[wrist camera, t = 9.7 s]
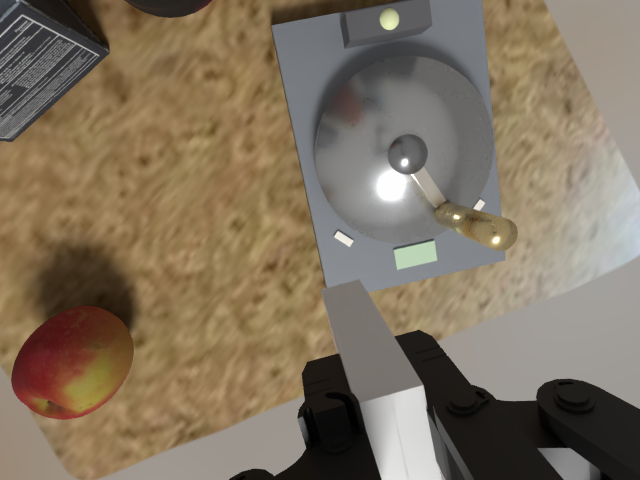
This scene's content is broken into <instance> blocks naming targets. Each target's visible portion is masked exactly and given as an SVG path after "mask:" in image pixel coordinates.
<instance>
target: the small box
mask: <svg viewBox="0 0 640 480" xmlns="http://www.w3.org/2000/svg"><path fill="white" fill-rule="evenodd" d="M108 54H109V49H108V46H106V45H105V43H104V42H103V41H102V40H100V39H99V38H98V37H97V36H96V34H95V33H94V32H93V31H92V30H91V29H90V28H89V26H87V25H86V24H85V22H84V21H83V20H82V19H81V18H80V17H79V16H78V15H77V13H76V11H74V10H73V9H72V8H71V6H70V5H69V4H68V2H67V0H0V141H7V142H12V141H14V140H15V139H16V138H17V137H18V136H19V135H20V134H21V133H22V132H23V131H25V130H26V129H27V128H28V127H29V126H30V125H31V124H32V123H33V122H35V121H36V120H37V119H38V118H39V117H40V116H41V115H43V114H44V113H45V112H46V111H47V110H48V109H49V108H50V107H51V106H52V105H54V104H55V103H56V102H57V101H58V100H59V99H60V98H61V97H62V96H63V95H64V94H66V93H67V92H68V91H69V90H70V89H71V88H72V87H73V86H74V85H75V84H77V83H78V82H79V81H80V80H81V79H82V78H83V77H84V76H85V75H87V74H88V73H89V72H90V71H91V70H92V69H93V68H94V67H95V66H96V65H97V64H98V63H99V62H100V61H102V60H103V59H104V58H105V57H106V56H107V55H108Z"/></svg>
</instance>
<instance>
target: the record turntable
mask: <svg viewBox="0 0 640 480" xmlns="http://www.w3.org/2000/svg"><path fill="white" fill-rule="evenodd" d="M272 35H273V40H274V44H275V49H276V54H277V59H278V63H279V68H280V73H281V77H282V82H283V87H284V92H285V96H286V101H287V106H288V111H289V115H290V120H291V125H292V129H293V134H294V139H295V144H296V148H297V153H298V158H299V162H300V167H301V172H302V177H303V181H304V186H305V191H306V196H307V200H308V205H309V210H310V214H311V219H312V224H313V229H314V233H315V238H316V243H317V247H318V252H319V257H320V262H321V266H322V271H323V276H324V281H325V285H326V288H328V287H332V286H336V285H339V284H343V283H347V282H351V281H354V280H358V279H360V281H361V283H362V284H363V286H364V288H365V289H366V291H367V293H368V292H372V291H377V290H381V289H385V288H389V287H394V286H398V285H402V284H406V283H411V282H415V281H419V280H423V279H428V278H432V277H436V276H441V275H445V274H449V273H453V272H458V271H462V270H466V269H470V268H475V267H479V266H483V265H487V264H492V263H496V262H500V261H505V250H504V251H496V250H493V249H491V248H489V247H487V246H485V245H482V244H480V243H478V242H476V241H474V240H472V239H469V238H467V237H465V236H463V235H461V234H459V233H456V232H454V231H452V230H450V229H448V230H446V231H445V232H443V233H441V234H439V235H437V236H435V237H432V238H429V239H426V240H424V241H419V242H414V243H404V244H397V243H387V242H382V241H378V240H375V239H372V238H369V237H367V236H365V235H363V234H361V233H359V232H357V231H356V230H354V229H353V228H351V227H350V226H349V225H347V224H346V223H345V222H344V221H343V220H342V219H341V218H340V217H339V216H338V215H337V214H336V212H335V211H334V210H333V209H332V208H331V206H330V205H329V203H328V202H327V200H326V199H325V196H324V194H323V192H322V190H321V188H320V185H319V182H318V179H317V174H316V169H315V159H314V149H315V139H316V134H317V129H318V126H319V123H320V120H321V118H322V115H323V113H324V111H325V109H326V107H327V105H328V104H329V102H330V101H331V99H332V98H333V96H334V95H335V94H336V93H337V92H338V90H339V89H340V88H341V87H342V86H343V85H344V84H345V83H346V82H347V81H348V80H350V79H351V78H352V77H353V76H354V75H355V74H357V73H358V72H360V71H361V70H363V69H364V68H366V67H368V66H370V65H372V64H374V63H376V62H379V61H382V60H385V59H388V58H394V57H399V56H418V57H426V58H430V59H433V60H437V61H439V62H442V63H444V64H446V65H448V66H450V67H451V68H453V69H455V70H456V71H458V72H459V73H460V74H461V75H463V76H464V77H465V78H466V79H467V80H468V81H469V82H470V83H471V84H472V85H473V86H474V87H475V89H476V90H477V92H478V93H479V95H480V96H481V98H482V100H483V102H484V104H485V106H486V108H487V110H488V113H489V116H490V119H491V124H492V129H493V137H494V128H493V117H492V106H491V95H490V84H489V73H488V62H487V51H486V40H485V29H484V18H483V7H482V0H402V1H397V2H392V3H387V4H381V5H376V6H371V7H366V8H360V9H355V10H350V11H345V12H339V13H334V14H329V15H324V16H318V17H313V18H308V19H302V20H297V21H292V22H287V23H281V24H276V25H272ZM472 209H476V210H479V211H482V212H486V213H489V214H492V215H496V216H499V217H501V206H500V194H499V183H498V172H497V161H496V150H495V139H494V155H493V161H492V167H491V171H490V174H489V178H488V180H487V183H486V185H485V187H484V190H483V192H482V193H481V195H480V197H479V199H478V200H477V202H476V203H475V204H474V206H473V207H472Z"/></svg>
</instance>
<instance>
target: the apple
mask: <svg viewBox="0 0 640 480" xmlns="http://www.w3.org/2000/svg"><path fill="white" fill-rule="evenodd" d="M133 354H134V348H133V341H132V338H131V335H130V333H129V331H128V329H127V328H126V326H125V324H124V323H123V322H122V321H121V320H120V319H119V318H118V317H116V316H115V315H114V314H112V313H110V312H109V311H107V310H104V309H102V308H99V307H95V306H78V307H74V308H71V309H68V310H65V311H63V312H61V313H59V314H57V315H55V316H54V317H52V318H50V319H49V320H47V321H46V322H45V323H43V324H42V325H41V326H40V327H39V328H37V329H36V330H35V331H34V332H33V333H32V334H31V336H30V337H29V338H28V339H27V341H26V342H25V343H24V345H23V346H22V348H21V350H20V351H19V353H18V356H17V358H16V360H15V363H14V366H13V371H12V378H11V382H12V387H13V390H14V393H15V394H16V396H17V397H18V399H19V400H20V401H21V402H23V403H24V404H25V405H27V406H28V407H29V408H30V409H31V410H32V411H34V412H36V413H38V414H40V415H42V416H45V417H48V418H54V419H72V418H78V417H81V416H84V415H87V414H89V413H91V412H93V411H94V410H96V409H98V408H99V407H101V406H102V405H103V404H104V403H106V402H107V401H108V400H109V399H110V398H111V397H112V396H113V395H114V394H115V393H116V392H117V390H118V389H119V388H120V386H121V385H122V384H123V382H124V380H125V379H126V377H127V375H128V373H129V370H130V368H131V364H132V360H133Z"/></svg>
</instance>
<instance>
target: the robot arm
mask: <svg viewBox="0 0 640 480" xmlns="http://www.w3.org/2000/svg"><path fill="white" fill-rule="evenodd" d="M321 293H322V297H323V301H324V305H325V308H326V312H327V316H328V320H329V324H330V328H331V332H332V336H333V340H334V343H335V347H336V351H337V354H335V355H331V356H327V357H324V358H320V359H317V360H313V361H309V362H307V364H306V366H305V368H304V370H303V372H302V379H303V386H304V396H305V402H304V403H303V404H302V406H301V407H300V409H299V412H298V422H299V425H300V428H301V432H302V435H303V438H304V441H305V445H306V450H305V451H304V453H303V455H302V456H301V457H300V458H299V459H298V461H296V462H295V463H294V464H293V465H292V466H290V467H289V468H287V469H286V470H284V471H282V472H281V473H279V474H277V475H276V476H273V475H272V474H271V473H269V472H268V471H266V470H262V469H251V470H247V471H243V472H241V473H239V474H237V475H235V476H234V477H232V478H230V479H229V480H442V479H441V474H440V469H441V471H442V473H443V475H444V477H445V479H446V480H640V409H638V408H636V407H635V406H633V405H631V404H629V403H627V402H625V401H623V400H621V399H620V398H618V397H616V396H614V395H612V394H610V393H608V392H606V391H605V390H603V389H601V388H599V387H597V386H594V385H592V384H589V383H587V382H584V381H579V380H573V379H556V380H553V381H550V382H546V383H544V384H543V385H542V386H541V387H540V388H539V389H538V392H537V396H536V399H537V401H501V400H496V399H495V398H494V397H493V395H491V394H490V393H489V392H487V391H486V390H485V389H483V388H480V387H477V386H475V385H471V384H470V383H469V382H468V381H467V379H466V378H465V377H464V376H463V374H462V373H461V372H460V371H459V369H458V368H457V367H456V366H455V364H454V363H453V362H452V361H451V359H450V358H449V357H448V356H447V355H446V353H445V352H444V351H443V349H442V348H440V346H439V344H438V343H437V342H436V340H435V339H434V338H433V337H432V336H431V335H429V334H426V333H424V332H422V331H420V330H417V331H413V332H409V333H406V334H402V335H399V336H395V337H394V336H393V334H392V332H391V331H390V329H389V327H388V326H387V324H386V322H385V321H384V319H383V317H382V316H381V314H380V312H379V311H378V309H377V308H376V306H375V304H374V303H373V301H372V299H371V298H370V296H369V294H368V293H367V291H366V289H365V288H364V286H363V284H362V283H361V281H360V279H358V280H354V281H351V282H347V283H343V284H339V285H336V286H332V287H328V288H325V289H321ZM439 467H440V468H439Z"/></svg>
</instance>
